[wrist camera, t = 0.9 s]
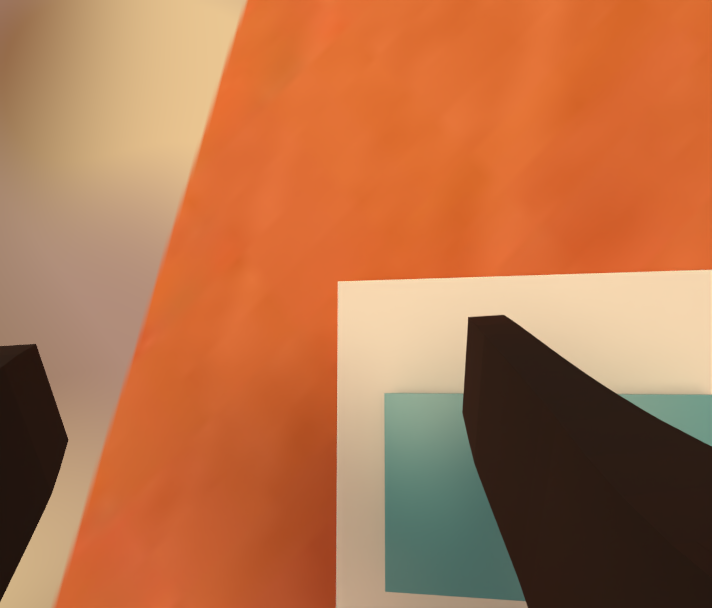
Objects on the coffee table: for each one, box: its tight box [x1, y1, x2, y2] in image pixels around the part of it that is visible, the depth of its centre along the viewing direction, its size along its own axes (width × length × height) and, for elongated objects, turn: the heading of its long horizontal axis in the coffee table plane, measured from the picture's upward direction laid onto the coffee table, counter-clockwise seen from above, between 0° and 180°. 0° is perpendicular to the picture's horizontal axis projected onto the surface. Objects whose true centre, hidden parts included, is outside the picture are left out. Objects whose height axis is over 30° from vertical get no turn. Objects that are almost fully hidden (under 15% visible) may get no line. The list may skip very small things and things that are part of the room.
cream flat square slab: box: [336, 270, 712, 608], centre depth 21 cm, size 14×14×2 cm
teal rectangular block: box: [384, 393, 712, 601], centre depth 19 cm, size 6×10×2 cm, turn 90°
